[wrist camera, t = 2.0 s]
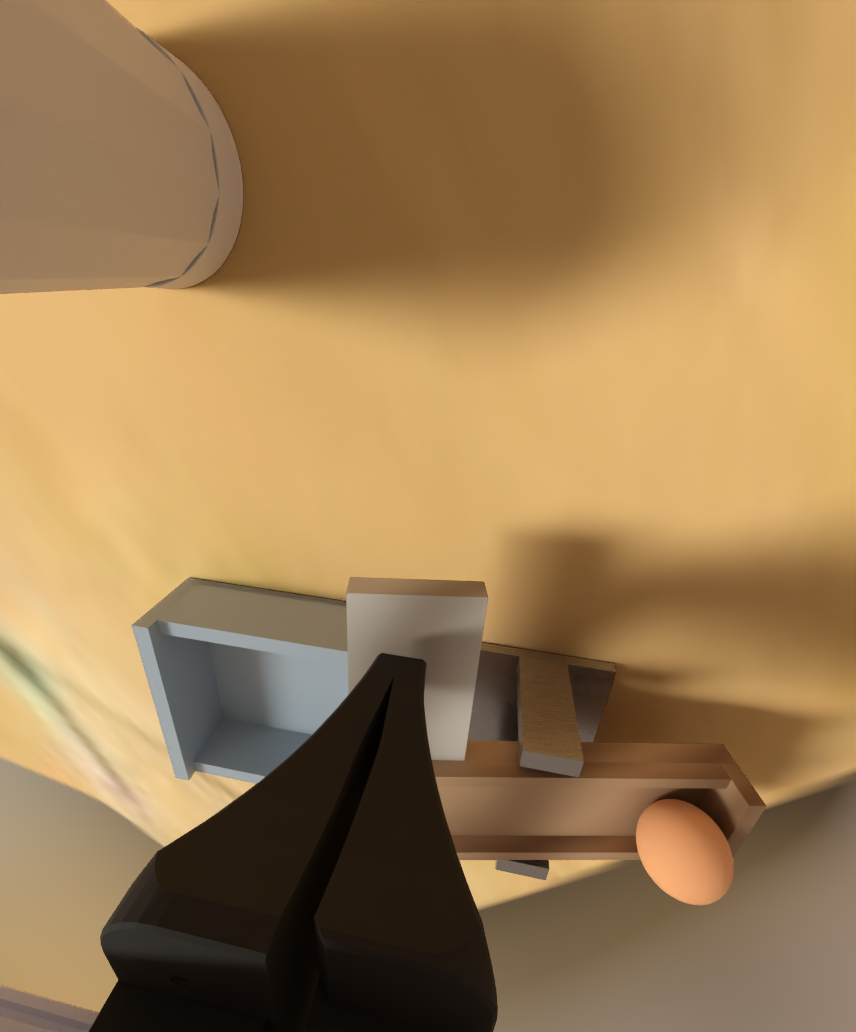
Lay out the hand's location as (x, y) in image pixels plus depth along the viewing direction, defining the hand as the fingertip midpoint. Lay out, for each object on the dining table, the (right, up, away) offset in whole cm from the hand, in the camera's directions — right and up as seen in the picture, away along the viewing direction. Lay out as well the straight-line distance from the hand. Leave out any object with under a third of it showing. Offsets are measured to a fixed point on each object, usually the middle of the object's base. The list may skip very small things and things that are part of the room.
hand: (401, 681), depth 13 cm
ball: (+10, -7, +3) cm, 12 cm away
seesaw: (+5, -3, +3) cm, 7 cm away
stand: (+6, -4, +8) cm, 11 cm away
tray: (-6, -3, +9) cm, 12 cm away
